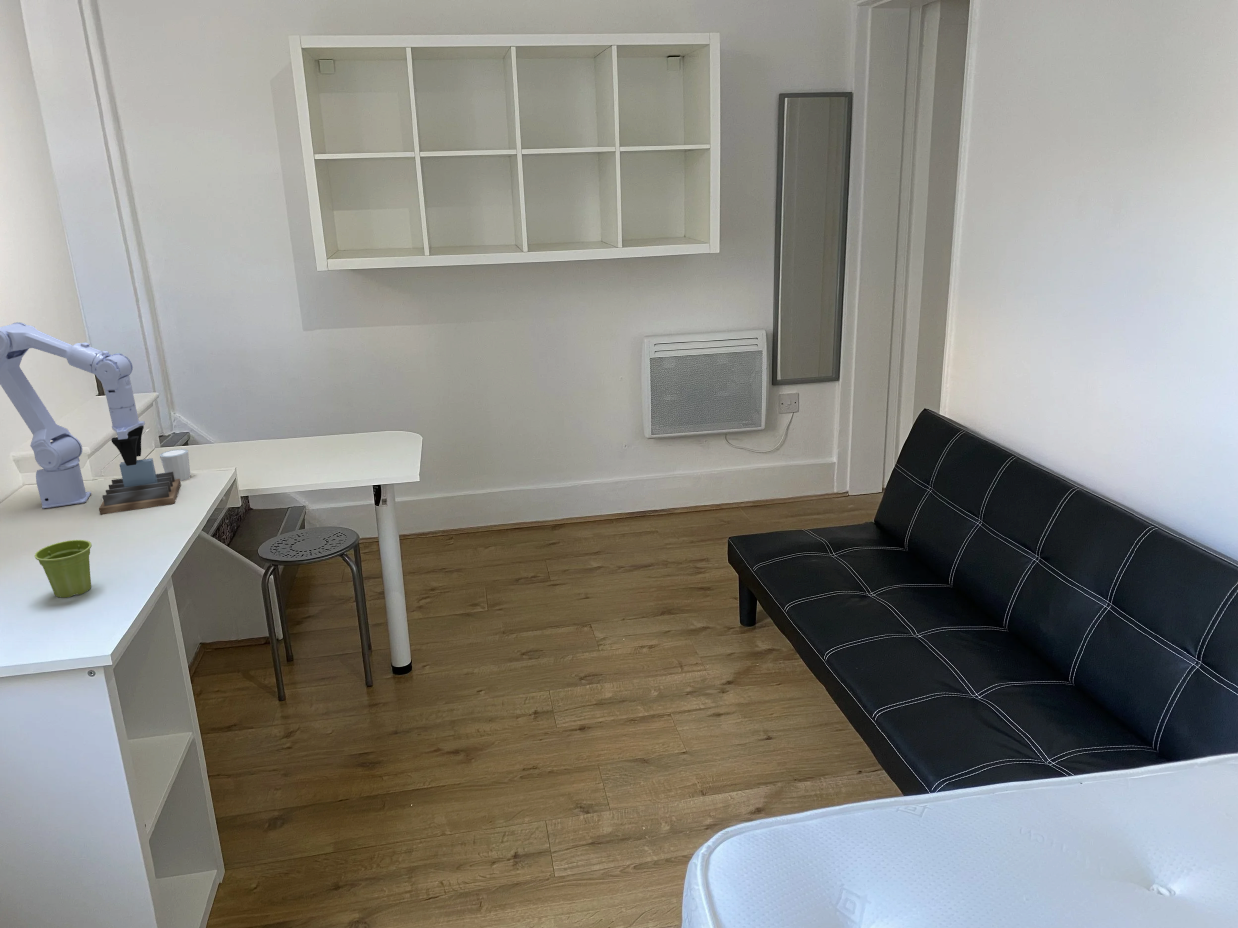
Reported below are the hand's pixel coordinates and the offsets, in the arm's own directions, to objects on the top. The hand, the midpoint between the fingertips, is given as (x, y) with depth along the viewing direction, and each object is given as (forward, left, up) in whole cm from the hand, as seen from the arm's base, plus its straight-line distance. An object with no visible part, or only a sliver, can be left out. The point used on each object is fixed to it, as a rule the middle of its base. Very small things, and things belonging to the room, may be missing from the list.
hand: (133, 460), depth 226 cm
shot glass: (+7, +14, -10) cm, 19 cm away
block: (0, 0, -8) cm, 8 cm away
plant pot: (-5, -55, -10) cm, 56 cm away
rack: (0, 0, -10) cm, 10 cm away
